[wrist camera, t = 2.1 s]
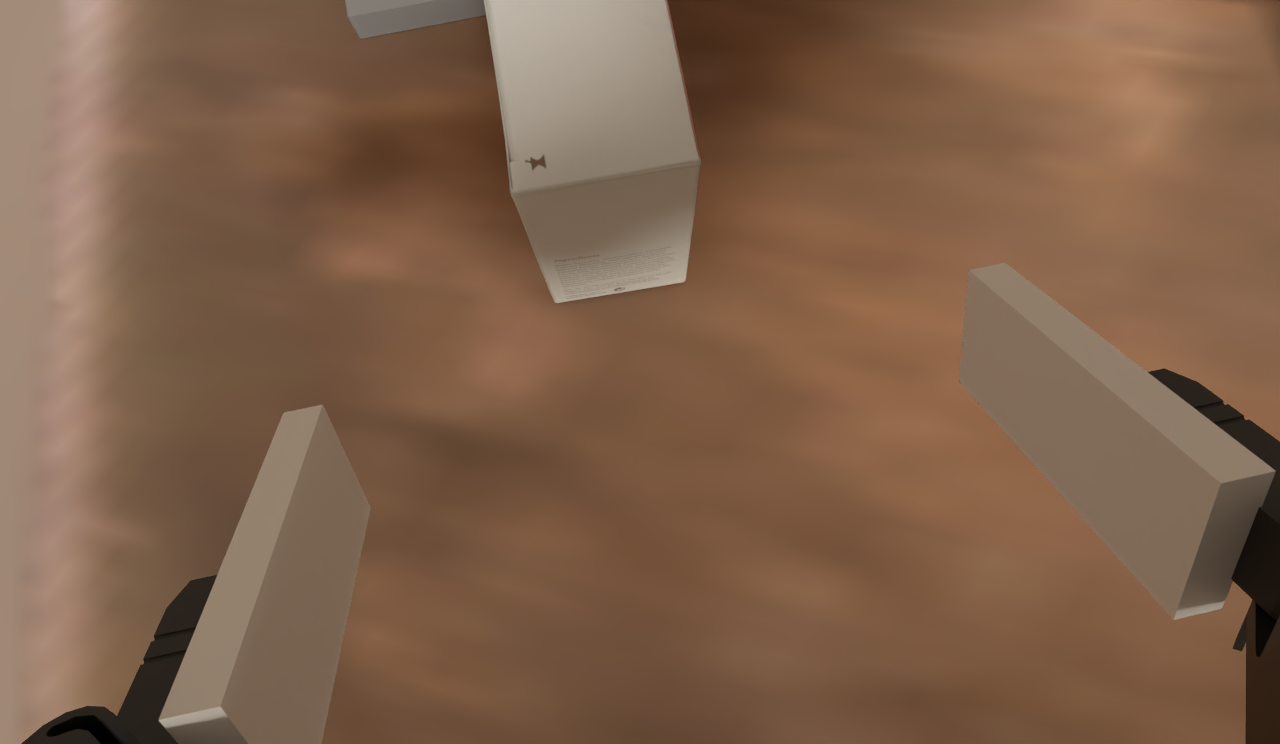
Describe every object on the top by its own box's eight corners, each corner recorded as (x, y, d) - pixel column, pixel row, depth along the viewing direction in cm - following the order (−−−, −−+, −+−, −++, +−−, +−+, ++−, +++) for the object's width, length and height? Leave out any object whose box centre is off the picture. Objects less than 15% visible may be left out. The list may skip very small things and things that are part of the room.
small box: (686, 285, 32) (706, 167, 22) (552, 307, 32) (508, 199, 22) (653, 111, 34) (657, -76, 24) (525, 131, 34) (473, -48, 23)
